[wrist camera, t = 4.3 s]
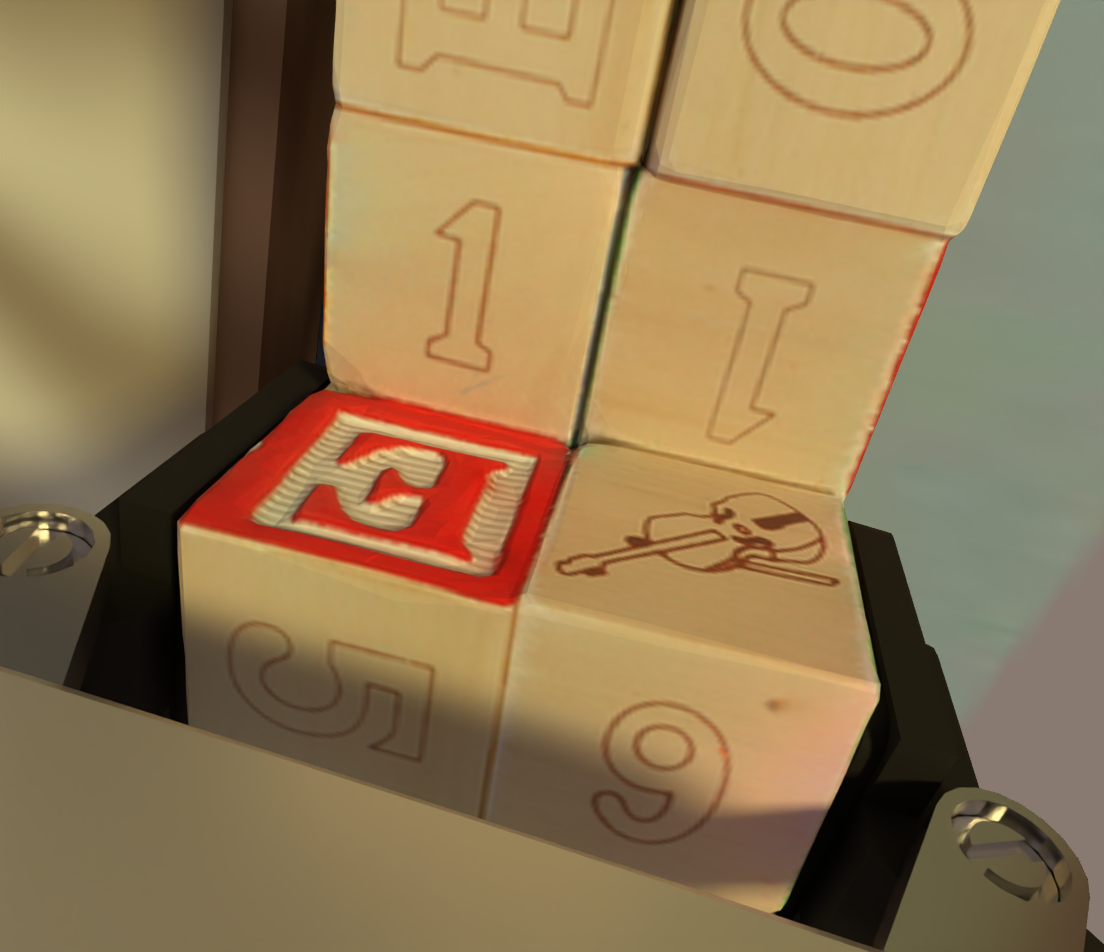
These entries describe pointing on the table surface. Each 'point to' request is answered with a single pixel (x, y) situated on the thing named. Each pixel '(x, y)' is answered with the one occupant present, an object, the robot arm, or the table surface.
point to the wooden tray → (152, 227)
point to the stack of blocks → (600, 413)
